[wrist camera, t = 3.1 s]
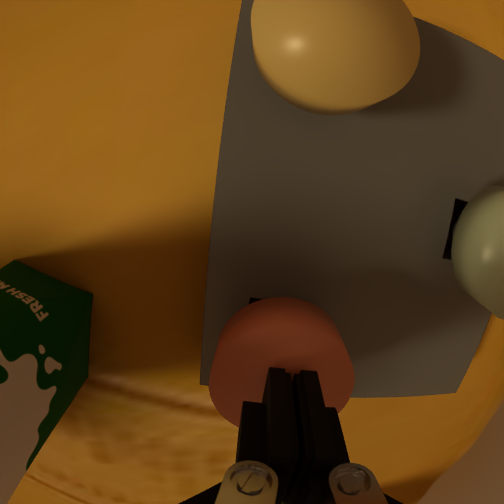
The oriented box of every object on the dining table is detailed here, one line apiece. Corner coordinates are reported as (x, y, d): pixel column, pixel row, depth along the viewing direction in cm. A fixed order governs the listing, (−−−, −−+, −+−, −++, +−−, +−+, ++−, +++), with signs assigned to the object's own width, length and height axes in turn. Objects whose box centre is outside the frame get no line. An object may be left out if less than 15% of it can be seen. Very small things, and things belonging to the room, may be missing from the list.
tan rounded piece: (262, 11, 11) (261, -49, 6) (373, 32, 11) (417, -13, 6) (247, 114, 13) (239, 88, 8) (365, 134, 13) (416, 123, 8)
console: (248, 7, 13) (245, -19, 10) (498, 81, 13) (527, 75, 10) (207, 353, 19) (199, 384, 16) (437, 367, 19) (455, 392, 16)
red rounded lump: (229, 266, 15) (213, 318, 10) (340, 280, 15) (372, 334, 10) (219, 360, 16) (206, 428, 11) (317, 370, 16) (332, 438, 11)
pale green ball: (434, 169, 13) (500, 178, 8) (505, 192, 13) (568, 209, 8) (413, 273, 14) (465, 318, 10) (484, 282, 14) (538, 320, 10)
